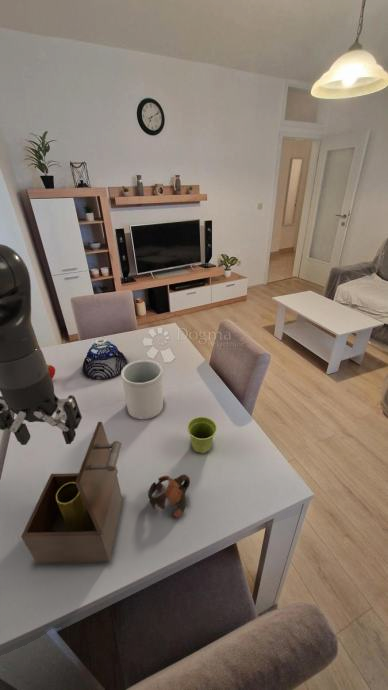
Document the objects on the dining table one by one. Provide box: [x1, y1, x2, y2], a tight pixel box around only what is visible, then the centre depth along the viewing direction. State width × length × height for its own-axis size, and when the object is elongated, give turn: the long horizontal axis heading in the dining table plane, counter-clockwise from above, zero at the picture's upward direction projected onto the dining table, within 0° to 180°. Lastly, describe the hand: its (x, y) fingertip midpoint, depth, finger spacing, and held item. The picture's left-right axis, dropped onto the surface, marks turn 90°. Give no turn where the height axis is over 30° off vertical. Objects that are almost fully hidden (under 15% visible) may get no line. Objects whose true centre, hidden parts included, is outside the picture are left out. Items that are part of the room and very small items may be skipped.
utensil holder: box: [120, 359, 164, 420], centre depth 104 cm, size 15×15×18 cm
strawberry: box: [46, 363, 56, 381], centre depth 120 cm, size 6×8×10 cm
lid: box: [75, 421, 122, 534], centre depth 59 cm, size 18×15×6 cm
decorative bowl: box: [82, 338, 128, 381], centre depth 128 cm, size 20×20×14 cm
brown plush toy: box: [147, 474, 191, 519], centre depth 75 cm, size 12×10×8 cm
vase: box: [56, 482, 93, 532], centre depth 66 cm, size 6×6×14 cm
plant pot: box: [186, 416, 218, 454], centre depth 90 cm, size 9×9×9 cm
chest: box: [20, 472, 123, 564], centre depth 67 cm, size 17×15×12 cm
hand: (48, 441), depth 54 cm, fingers open, 8 cm apart
